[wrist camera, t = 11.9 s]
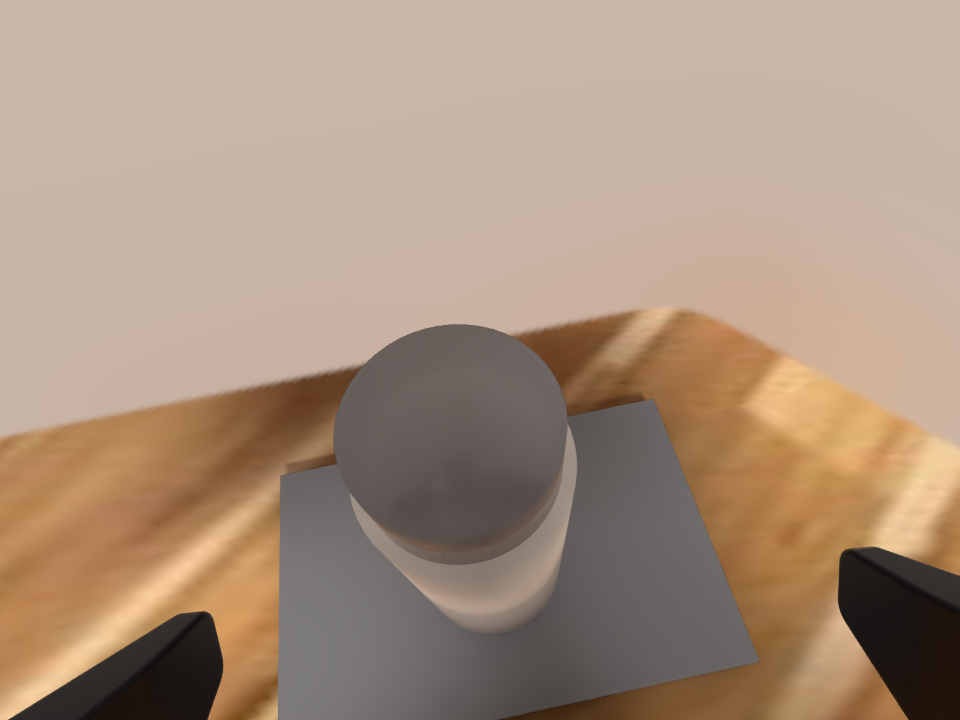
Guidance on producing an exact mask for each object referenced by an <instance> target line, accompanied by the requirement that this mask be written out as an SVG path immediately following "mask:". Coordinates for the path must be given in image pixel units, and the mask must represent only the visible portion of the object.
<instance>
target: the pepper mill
mask: <svg viewBox="0 0 960 720" xmlns="http://www.w3.org/2000/svg"><path fill="white" fill-rule="evenodd" d="M334 452H335V457H336V462H337V466H338V469H339V472H340V474H341V477H342V480H343V482H344V483H345V485H346V487H347V489H348V490H349V494H350V498H351V502H352V507H353V509H354V512H355V515H356V517H357V520H358V522H359V524H360V525H361V527H362V529H363V531H364V533H365V534H366V535H367V537H368V538H369V539H370V541H371V542H372V543H373V544H374V546H375V547H376V548H377V549H378V550H379V551H380V552H381V553H382V554H384V555H385V556H386V557H387V558H388V559H389V560H390V561H391V562H392V563H393V564H394V565H395V566H396V567H397V568H398V569H399V570H400V571H401V572H402V573H403V574H404V575H405V576H406V577H407V578H408V579H409V580H410V581H411V582H412V583H413V584H414V585H415V586H416V587H417V588H418V589H419V590H420V591H421V592H422V593H423V594H424V595H425V596H426V597H427V598H428V599H429V600H430V601H431V602H432V603H433V604H434V605H435V606H436V607H437V608H438V609H439V610H440V611H441V612H442V613H443V614H444V615H445V616H446V617H447V618H448V619H449V620H450V621H452V622H453V623H455V624H456V625H457V626H459V627H461V628H463V629H465V630H468V631H470V632H473V633H478V634H482V635H500V634H505V633H509V632H513V631H515V630H518V629H520V628H522V627H523V626H525V625H527V624H529V623H530V622H531V621H532V620H534V619H535V618H536V617H537V616H538V615H539V614H540V613H541V612H542V611H543V609H544V608H545V607H546V605H547V604H548V602H549V600H550V599H551V597H552V595H553V592H554V590H555V587H556V583H557V579H558V575H559V569H560V564H561V559H562V553H563V548H564V543H565V538H566V532H567V527H568V522H569V516H570V511H571V506H572V501H573V495H574V490H575V485H576V475H577V455H576V449H575V444H574V440H573V436H572V433H571V430H570V427H569V425H568V423H567V411H566V405H565V400H564V397H563V394H562V391H561V388H560V386H559V384H558V382H557V380H556V378H555V376H554V374H553V373H552V371H551V370H550V369H549V367H548V366H547V364H546V363H545V362H544V361H543V360H542V359H541V358H540V357H539V356H538V355H537V354H536V353H535V352H534V351H533V350H532V349H530V348H529V347H528V346H526V345H525V344H523V343H522V342H520V341H519V340H517V339H515V338H513V337H511V336H509V335H507V334H505V333H502V332H499V331H497V330H494V329H489V328H485V327H481V326H475V325H443V326H436V327H431V328H427V329H423V330H420V331H417V332H414V333H411V334H409V335H406V336H404V337H402V338H400V339H398V340H396V341H394V342H393V343H391V344H389V345H388V346H386V347H385V348H383V349H382V350H381V351H379V352H378V353H377V354H375V355H374V356H373V357H372V358H371V359H370V360H369V361H368V362H367V363H366V364H365V365H364V366H363V367H362V368H361V369H360V371H359V372H358V373H357V374H356V375H355V377H354V378H353V380H352V381H351V383H350V384H349V386H348V388H347V390H346V392H345V394H344V396H343V398H342V400H341V403H340V406H339V409H338V411H337V416H336V421H335V426H334Z"/></svg>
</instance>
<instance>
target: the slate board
mask: <svg viewBox="0 0 960 720" xmlns="http://www.w3.org/2000/svg"><path fill="white" fill-rule="evenodd" d="M567 423H568V425H569V427H570V430H571V433H572V436H573V440H574V444H575V449H576V455H577V475H576V485H575V490H574V495H573V501H572V506H571V511H570V516H569V522H568V527H567V532H566V538H565V543H564V548H563V553H562V559H561V564H560V569H559V575H558V579H557V583H556V587H555V590H554V592H553V595H552V597H551V599H550V600H549V602H548V604H547V605H546V607H545V608H544V609H543V611H542V612H541V613H540V614H539V615H538V616H537V617H536V618H535V619H534V620H532V621H531V622H530V623H529V624H527V625H525V626H523V627H522V628H520V629H518V630H515V631H513V632H509V633H505V634H500V635H482V634H478V633H473V632H470V631H468V630H465V629H463V628H461V627H459V626H457V625H456V624H455V623H453V622H452V621H450V620H449V619H448V618H447V617H446V616H445V615H444V614H443V613H442V612H441V611H440V610H439V609H438V608H437V607H436V606H435V605H434V604H433V603H432V602H431V601H430V600H429V599H428V598H427V597H426V596H425V595H424V594H423V593H422V592H421V591H420V590H419V589H418V588H417V587H416V586H415V585H414V584H413V583H412V582H411V581H410V580H409V579H408V578H407V577H406V576H405V575H404V574H403V573H402V572H401V571H400V570H399V569H398V568H397V567H396V566H395V565H394V564H393V563H392V562H391V561H390V560H389V559H388V558H387V557H386V556H385V555H384V554H382V553H381V552H380V551H379V550H378V549H377V548H376V547H375V546H374V544H373V543H372V542H371V541H370V539H369V538H368V537H367V535H366V534H365V533H364V531H363V529H362V527H361V525H360V524H359V522H358V520H357V517H356V515H355V512H354V509H353V507H352V502H351V498H350V494H349V490H348V489H347V487H346V485H345V483H344V482H343V480H342V477H341V474H340V472H339V469H338V466H337V464H334V465H329V466H324V467H319V468H315V469H310V470H305V471H300V472H295V473H290V474H285V475H281V487H280V576H279V665H278V720H499V719H503V718H508V717H512V716H517V715H521V714H526V713H530V712H535V711H539V710H544V709H548V708H553V707H558V706H562V705H567V704H571V703H576V702H580V701H585V700H589V699H594V698H598V697H603V696H607V695H612V694H617V693H621V692H626V691H630V690H635V689H639V688H644V687H648V686H653V685H657V684H662V683H666V682H671V681H675V680H680V679H685V678H689V677H694V676H698V675H703V674H707V673H712V672H716V671H721V670H725V669H730V668H734V667H739V666H744V665H748V664H753V663H757V662H760V661H759V659H758V656H757V654H756V651H755V649H754V646H753V644H752V641H751V639H750V636H749V634H748V631H747V629H746V626H745V624H744V622H743V619H742V617H741V614H740V612H739V609H738V607H737V604H736V602H735V599H734V597H733V594H732V592H731V589H730V587H729V584H728V582H727V579H726V577H725V575H724V572H723V570H722V567H721V565H720V562H719V560H718V557H717V555H716V552H715V550H714V547H713V545H712V542H711V540H710V537H709V535H708V532H707V530H706V528H705V525H704V523H703V520H702V518H701V515H700V513H699V510H698V508H697V505H696V503H695V500H694V498H693V495H692V493H691V490H690V488H689V485H688V483H687V481H686V478H685V476H684V473H683V471H682V468H681V466H680V463H679V461H678V458H677V456H676V453H675V451H674V448H673V446H672V443H671V441H670V439H669V436H668V434H667V431H666V429H665V426H664V424H663V421H662V419H661V416H660V414H659V411H658V409H657V406H656V404H655V401H654V399H650V400H645V401H640V402H635V403H631V404H626V405H621V406H616V407H611V408H606V409H601V410H597V411H592V412H587V413H582V414H577V415H572V416H567Z"/></svg>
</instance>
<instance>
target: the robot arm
mask: <svg viewBox="0 0 960 720" xmlns="http://www.w3.org/2000/svg"><path fill="white" fill-rule="evenodd" d="M838 604H839V609H840V612H841V614H842V617H843V619H844V620H845V622H846V624H847V625H848V627H849V628H850V630H851V631H852V633H853V635H854V636H855V638H856V639H857V641H858V642H859V644H860V645H861V647H862V649H863V650H864V652H865V653H866V655H867V656H868V658H869V659H870V661H871V663H872V664H873V666H874V667H875V669H876V670H877V672H878V674H879V675H880V677H881V678H882V680H883V681H884V683H885V684H886V686H887V688H888V689H889V691H890V692H891V694H892V695H893V697H894V698H895V700H896V702H897V703H898V705H899V706H900V708H901V709H902V711H903V712H904V714H905V715H906V717H907V718H908V720H960V576H959V575H956V574H953V573H950V572H947V571H944V570H941V569H939V568H936V567H933V566H930V565H927V564H924V563H921V562H918V561H916V560H913V559H910V558H907V557H904V556H901V555H898V554H895V553H892V552H890V551H887V550H884V549H881V548H878V547H860V548H851V549H846V550H845V551H843V552H842V554H841V556H840V563H839V586H838ZM222 674H223V657H222V653H221V649H220V645H219V640H218V636H217V632H216V628H215V624H214V620H213V617H212V616H211V614H209V613H208V612H206V611H201V612H191V613H181V614H178V615H176V616H174V617H173V618H171V619H169V620H168V621H166V622H165V623H163V624H161V625H160V626H158V627H157V628H155V629H153V630H152V631H150V632H149V633H147V634H145V635H144V636H142V637H140V638H139V639H137V640H136V641H134V642H132V643H131V644H129V645H128V646H126V647H124V648H123V649H121V650H120V651H118V652H116V653H115V654H113V655H112V656H110V657H108V658H107V659H105V660H104V661H102V662H100V663H99V664H97V665H95V666H94V667H92V668H91V669H89V670H87V671H86V672H84V673H83V674H81V675H79V676H78V677H76V678H75V679H73V680H71V681H70V682H68V683H67V684H65V685H63V686H62V687H60V688H58V689H57V690H55V691H54V692H52V693H50V694H49V695H47V696H46V697H44V698H42V699H41V700H39V701H38V702H36V703H34V704H33V705H31V706H30V707H28V708H26V709H25V710H23V711H22V712H20V713H18V714H17V715H15V716H13V717H12V718H10V719H9V720H207V719H208V717H209V714H210V711H211V708H212V705H213V702H214V699H215V696H216V693H217V690H218V687H219V685H220V682H221V678H222Z"/></svg>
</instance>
